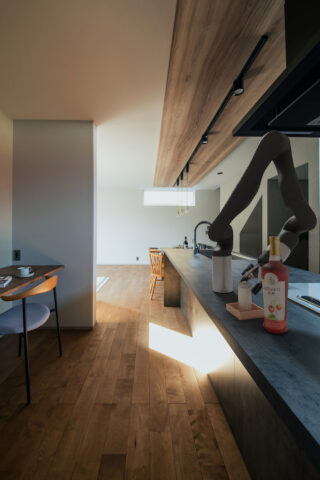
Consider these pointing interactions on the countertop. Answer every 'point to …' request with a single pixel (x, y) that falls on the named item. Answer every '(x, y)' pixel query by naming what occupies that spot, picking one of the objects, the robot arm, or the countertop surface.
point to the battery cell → (244, 296)
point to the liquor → (275, 290)
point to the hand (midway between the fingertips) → (245, 289)
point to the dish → (255, 313)
